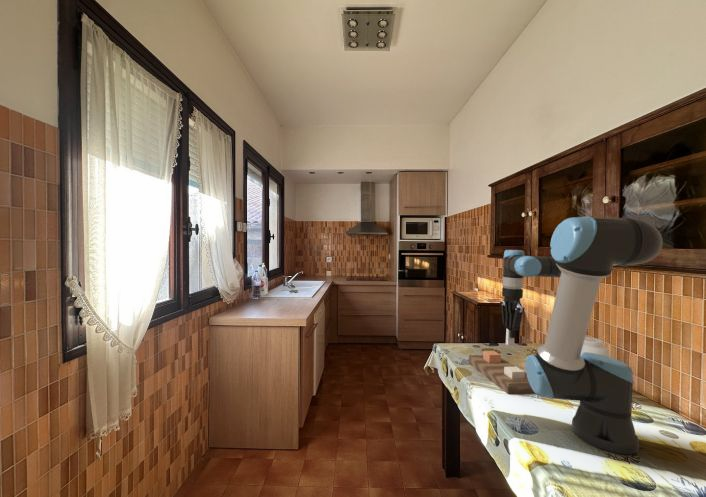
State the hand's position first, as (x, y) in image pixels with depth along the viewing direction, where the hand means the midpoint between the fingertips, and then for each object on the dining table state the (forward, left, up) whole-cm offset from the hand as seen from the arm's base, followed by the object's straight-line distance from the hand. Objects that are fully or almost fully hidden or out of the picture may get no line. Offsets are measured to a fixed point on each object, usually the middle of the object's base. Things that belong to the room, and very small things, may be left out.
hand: (509, 344), depth 127 cm
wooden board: (+4, 0, -15) cm, 16 cm away
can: (-8, -29, -15) cm, 34 cm away
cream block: (-4, 0, -13) cm, 14 cm away
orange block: (+12, 0, -12) cm, 17 cm away
